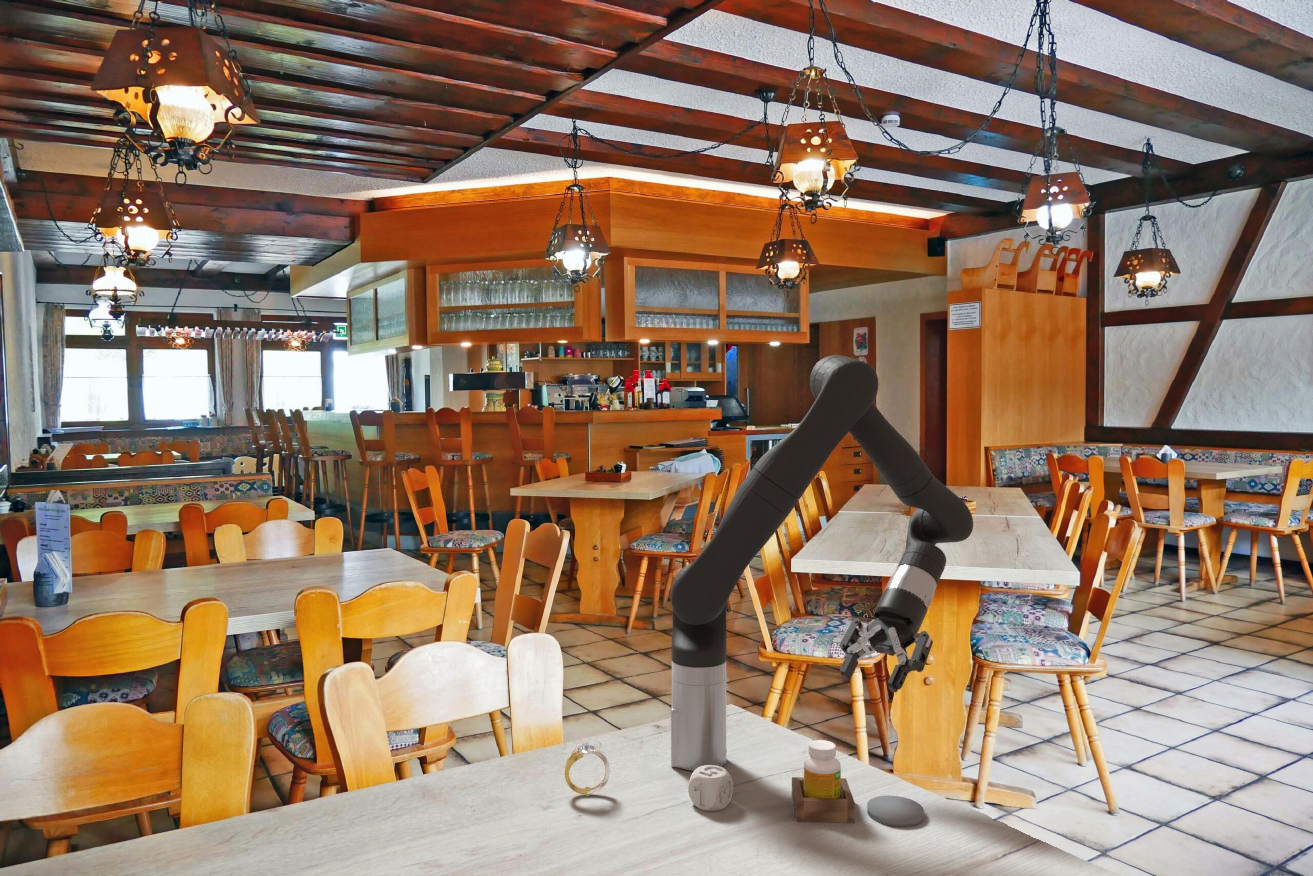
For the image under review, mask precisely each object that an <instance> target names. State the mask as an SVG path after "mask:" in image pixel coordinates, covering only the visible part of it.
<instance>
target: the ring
mask: <svg viewBox="0 0 1313 876" xmlns="http://www.w3.org/2000/svg"><path fill="white" fill-rule="evenodd" d="M588 755H595V756H597V757H598V758H599V759H600V760H601V761H602V763H603V764H604V768H605V772H604V776H603V777H602V778H603V779H602V780H601V781H600V782H599V783H598V784H597V785H595V786H593V787H590V786H585V787H584V788H583V787H580V786H578V785H576V784H575V783H574V782H573V781H572V779H571V776H570V770H571V768H572V766H573V765H574V764H575V763H576V762H577V761H578V760H580V759H582V758H583V757H584V756H588ZM610 775H611V766H610V760H609V759H608V757H607V755H606V754H605V753H604V752H602V750H600V749H598V748H597V744H596V743H594V744H590V742H589V741H586V742H582V743H581V745H578V746H577V745H576V746H575V747H574V749H573V751H571V752H570V754H569V756H568V757H567V760H566V762H565V766H564V779H565V782H566V784H567V786H568V787H569V788H570V789H571V790H572V791H573V792H575V793H577V794H580V795H584V796H585V797H589V796H590V795H593V794H596V793H599V792H600V791H601V790H603V788H604V787H605V786H606V785H607V783H608V781H609V779H610Z"/></svg>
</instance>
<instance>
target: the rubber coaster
mask: <svg viewBox="0 0 1313 876" xmlns="http://www.w3.org/2000/svg"><path fill="white" fill-rule="evenodd" d="M866 805H867V807H866V808H867V809H866V811H867V812H866V813H867V815H868V816H869V818H871V819H872V820H873V821H876V822H877V823H880V824H882V825H886V826H890V827H898V828H908V827H914V826H917V825H919V824H921V823H922V822H923V821H924V819H925V817H924V816H925V810H924V807H923V806H922V805H921V804H920V803H919V802H917V801H915V800H913V799H911V798H909V797H904V796H899V795H889V794H888V795H880V796H879V795H878V796H875V797H873V798H870V799H869V800H868V802H867V803H866Z"/></svg>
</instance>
